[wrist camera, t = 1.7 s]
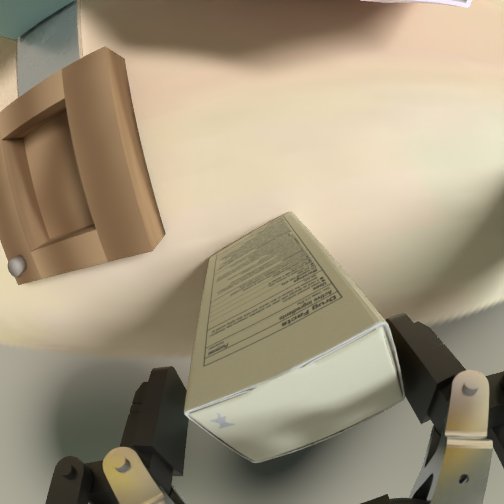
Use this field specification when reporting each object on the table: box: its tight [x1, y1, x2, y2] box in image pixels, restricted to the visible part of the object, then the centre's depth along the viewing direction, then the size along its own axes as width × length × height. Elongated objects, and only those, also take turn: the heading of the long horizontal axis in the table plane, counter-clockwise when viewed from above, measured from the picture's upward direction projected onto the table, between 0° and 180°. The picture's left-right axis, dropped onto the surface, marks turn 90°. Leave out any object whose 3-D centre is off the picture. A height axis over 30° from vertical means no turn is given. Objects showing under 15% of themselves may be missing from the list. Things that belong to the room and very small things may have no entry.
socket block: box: [0, 47, 165, 285], centre depth 14 cm, size 12×12×4 cm
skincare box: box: [184, 212, 405, 463], centre depth 13 cm, size 6×4×12 cm
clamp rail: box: [17, 0, 83, 97], centre depth 10 cm, size 6×16×1 cm, turn 12°
